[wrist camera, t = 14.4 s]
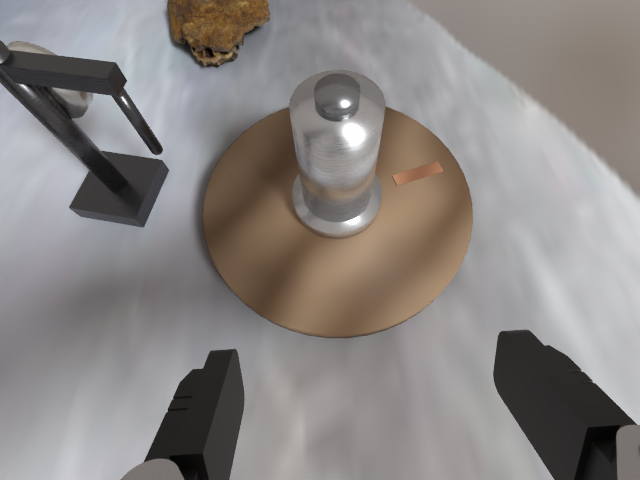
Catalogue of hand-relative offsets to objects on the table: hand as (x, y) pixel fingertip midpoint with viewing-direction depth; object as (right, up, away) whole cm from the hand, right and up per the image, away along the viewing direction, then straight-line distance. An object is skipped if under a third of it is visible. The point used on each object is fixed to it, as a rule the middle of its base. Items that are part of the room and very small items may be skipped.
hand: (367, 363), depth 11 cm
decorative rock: (-12, +28, +31) cm, 44 cm away
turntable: (0, +6, +19) cm, 20 cm away
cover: (0, +7, +18) cm, 19 cm away
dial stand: (-17, +8, +22) cm, 29 cm away
